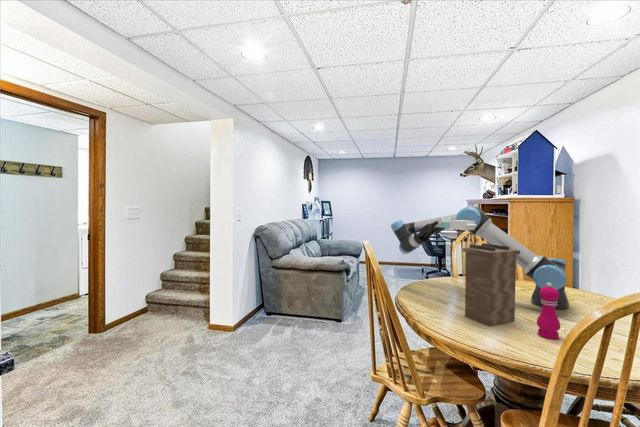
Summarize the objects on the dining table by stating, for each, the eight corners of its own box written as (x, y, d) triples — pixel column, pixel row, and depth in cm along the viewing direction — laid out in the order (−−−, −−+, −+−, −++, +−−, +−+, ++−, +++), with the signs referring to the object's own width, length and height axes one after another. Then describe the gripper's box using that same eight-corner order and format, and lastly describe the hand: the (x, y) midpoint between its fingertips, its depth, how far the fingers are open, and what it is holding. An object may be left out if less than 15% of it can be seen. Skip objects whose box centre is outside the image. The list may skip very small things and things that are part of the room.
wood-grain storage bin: (489, 311, 146) (490, 243, 145) (518, 321, 133) (520, 246, 132) (461, 316, 139) (462, 244, 138) (489, 327, 126) (491, 248, 125)
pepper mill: (534, 336, 118) (536, 282, 118) (538, 330, 124) (539, 279, 123) (558, 341, 113) (560, 286, 113) (561, 335, 119) (562, 282, 118)
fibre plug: (441, 226, 166) (441, 218, 165) (478, 229, 144) (478, 221, 144) (432, 226, 163) (432, 219, 163) (468, 230, 142) (468, 221, 142)
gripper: (433, 243, 179) (462, 225, 160) (408, 245, 172) (435, 226, 153) (428, 231, 182) (456, 212, 163) (404, 232, 175) (430, 212, 156)
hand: (446, 219), depth 158 cm, fingers closed on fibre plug, 4 cm apart
